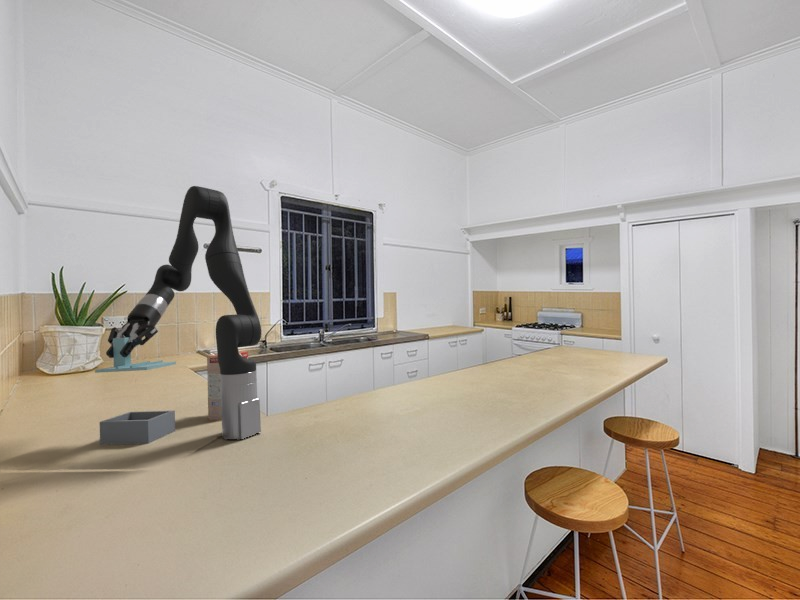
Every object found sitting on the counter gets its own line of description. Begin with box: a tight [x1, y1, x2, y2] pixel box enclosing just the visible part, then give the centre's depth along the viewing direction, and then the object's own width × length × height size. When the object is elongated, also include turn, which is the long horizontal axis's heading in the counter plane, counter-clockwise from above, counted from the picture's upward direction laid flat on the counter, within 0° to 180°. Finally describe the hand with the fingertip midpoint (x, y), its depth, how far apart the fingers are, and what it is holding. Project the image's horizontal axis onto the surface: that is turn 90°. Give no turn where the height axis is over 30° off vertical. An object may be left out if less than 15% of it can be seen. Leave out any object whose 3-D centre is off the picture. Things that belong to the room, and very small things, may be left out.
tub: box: [99, 410, 176, 445], centre depth 103 cm, size 14×10×6 cm
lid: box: [94, 336, 177, 374], centre depth 104 cm, size 15×11×9 cm
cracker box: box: [206, 350, 249, 421], centre depth 124 cm, size 14×6×21 cm, turn 168°
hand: (116, 355), depth 103 cm, fingers closed on lid, 3 cm apart
